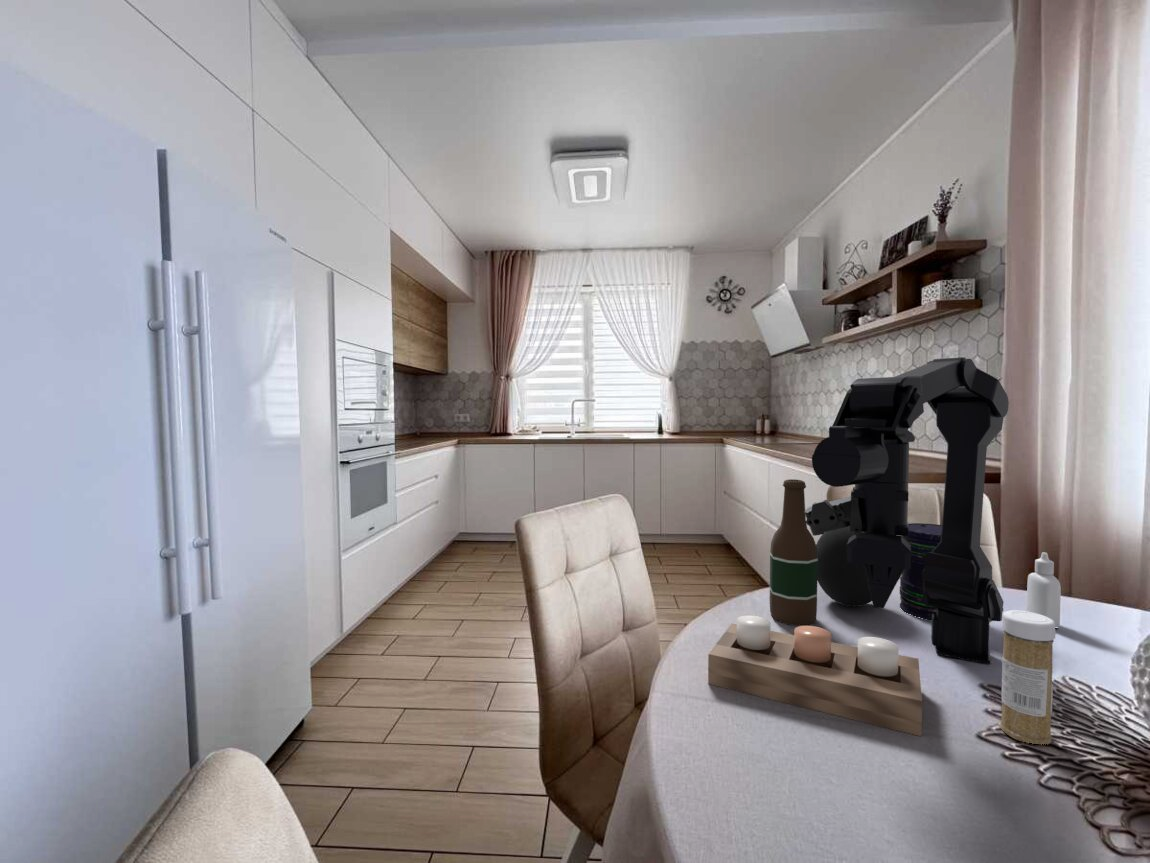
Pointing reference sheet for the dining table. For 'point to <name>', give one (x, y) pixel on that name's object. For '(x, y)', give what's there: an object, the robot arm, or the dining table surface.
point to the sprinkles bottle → (1027, 676)
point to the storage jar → (918, 569)
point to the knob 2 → (878, 656)
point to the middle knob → (812, 643)
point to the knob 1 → (753, 632)
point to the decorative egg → (841, 570)
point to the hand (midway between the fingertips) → (878, 606)
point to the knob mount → (820, 681)
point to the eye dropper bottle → (1044, 590)
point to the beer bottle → (793, 562)
